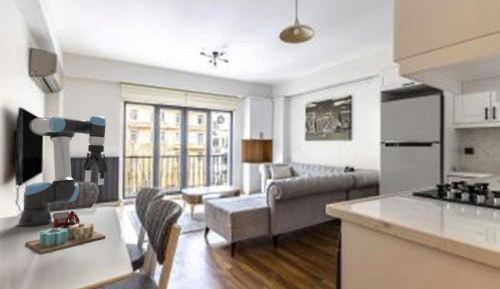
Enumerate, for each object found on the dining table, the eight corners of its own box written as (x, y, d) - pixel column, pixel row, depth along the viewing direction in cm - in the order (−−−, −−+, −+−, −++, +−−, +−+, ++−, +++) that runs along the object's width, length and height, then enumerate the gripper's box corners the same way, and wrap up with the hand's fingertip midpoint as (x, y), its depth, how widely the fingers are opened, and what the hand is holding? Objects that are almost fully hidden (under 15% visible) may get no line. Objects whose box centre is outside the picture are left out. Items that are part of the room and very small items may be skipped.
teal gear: (61, 236, 135) (62, 226, 135) (72, 241, 129) (72, 231, 129) (34, 242, 126) (35, 231, 126) (44, 247, 120) (45, 236, 120)
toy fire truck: (80, 230, 150) (81, 211, 150) (53, 234, 141) (54, 214, 141) (77, 227, 155) (78, 209, 155) (51, 231, 146) (52, 211, 146)
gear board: (25, 244, 125) (26, 229, 125) (88, 231, 149) (89, 218, 149) (41, 253, 116) (42, 237, 116) (105, 238, 140) (106, 224, 140)
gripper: (77, 143, 152) (75, 181, 152) (102, 145, 139) (99, 186, 138) (91, 144, 158) (89, 180, 158) (115, 145, 145) (113, 185, 144)
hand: (93, 183), depth 148 cm, fingers open, 13 cm apart
